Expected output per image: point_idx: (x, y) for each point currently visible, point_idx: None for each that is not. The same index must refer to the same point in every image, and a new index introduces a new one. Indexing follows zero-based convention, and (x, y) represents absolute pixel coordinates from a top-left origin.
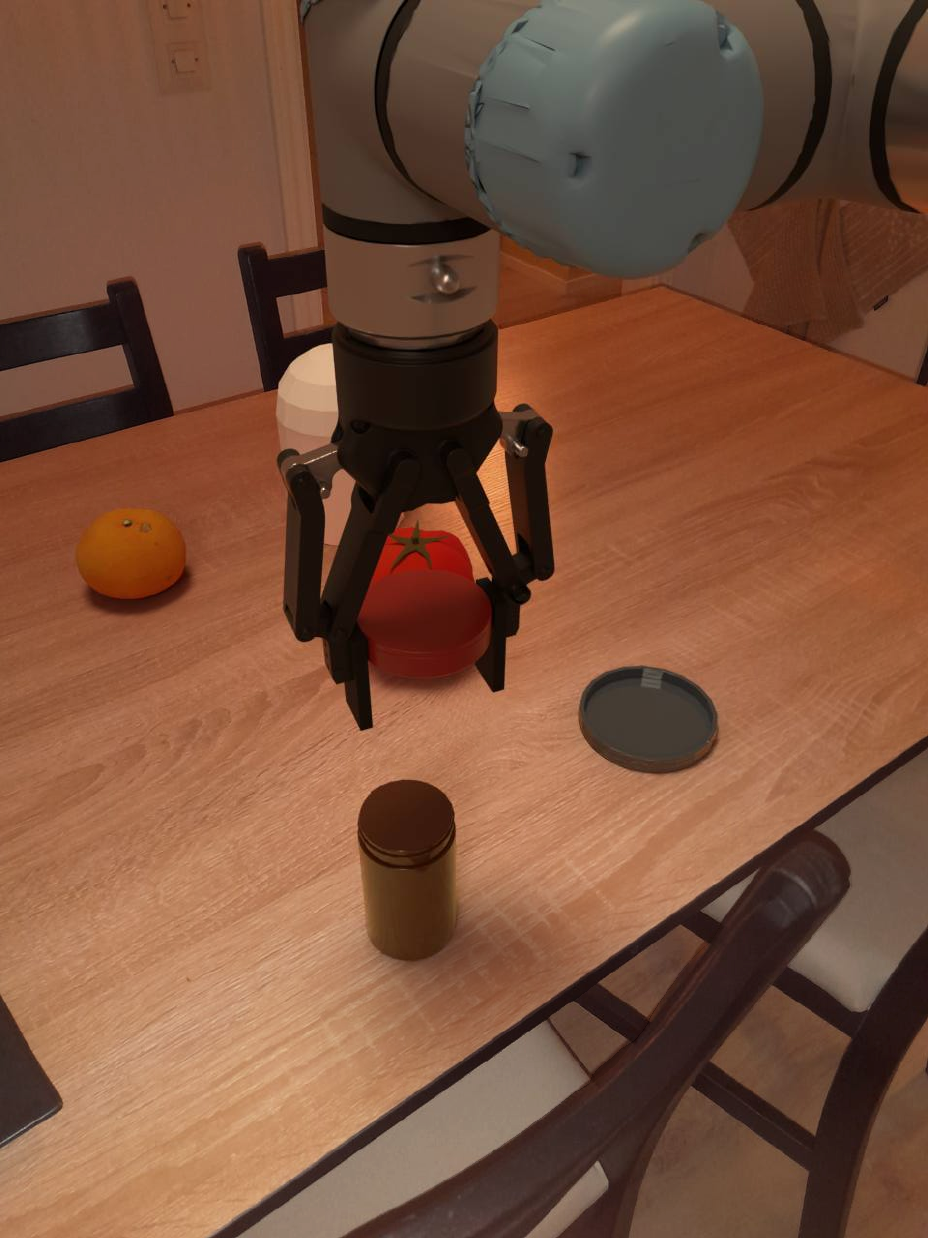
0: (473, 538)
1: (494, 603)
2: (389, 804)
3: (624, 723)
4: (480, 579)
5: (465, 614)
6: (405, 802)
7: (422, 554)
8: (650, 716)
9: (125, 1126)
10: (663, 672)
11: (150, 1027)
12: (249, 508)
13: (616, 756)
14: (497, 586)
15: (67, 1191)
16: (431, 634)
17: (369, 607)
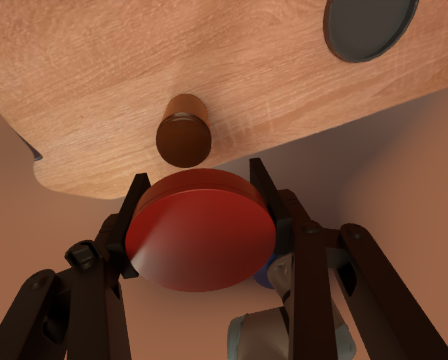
0: (293, 291)
1: (276, 253)
2: (175, 136)
3: (354, 9)
4: (282, 220)
5: (242, 261)
6: (185, 136)
7: None
8: (372, 8)
9: (71, 168)
10: None
11: (69, 134)
12: None
13: (329, 43)
14: (291, 242)
15: (57, 183)
16: (202, 278)
17: (143, 241)
